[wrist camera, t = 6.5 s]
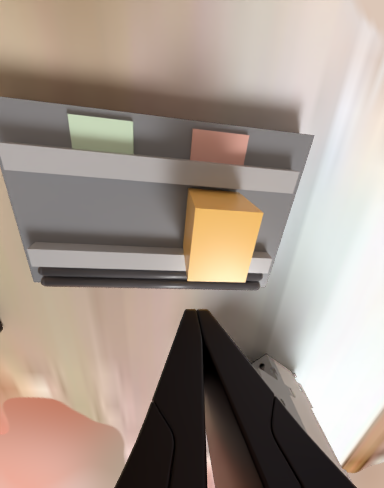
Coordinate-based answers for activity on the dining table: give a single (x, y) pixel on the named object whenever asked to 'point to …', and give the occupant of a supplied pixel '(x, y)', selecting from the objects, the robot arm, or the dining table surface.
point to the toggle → (219, 235)
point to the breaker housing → (135, 191)
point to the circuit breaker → (294, 401)
